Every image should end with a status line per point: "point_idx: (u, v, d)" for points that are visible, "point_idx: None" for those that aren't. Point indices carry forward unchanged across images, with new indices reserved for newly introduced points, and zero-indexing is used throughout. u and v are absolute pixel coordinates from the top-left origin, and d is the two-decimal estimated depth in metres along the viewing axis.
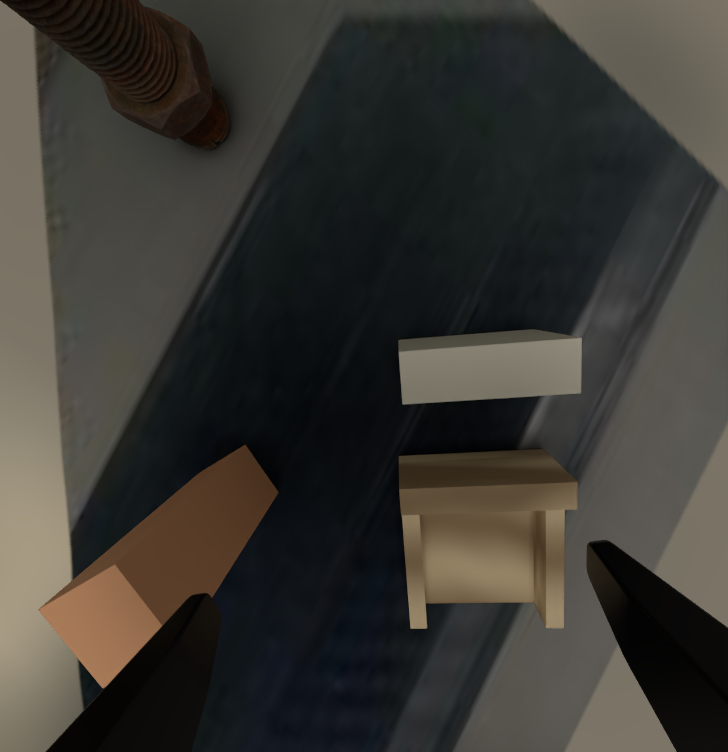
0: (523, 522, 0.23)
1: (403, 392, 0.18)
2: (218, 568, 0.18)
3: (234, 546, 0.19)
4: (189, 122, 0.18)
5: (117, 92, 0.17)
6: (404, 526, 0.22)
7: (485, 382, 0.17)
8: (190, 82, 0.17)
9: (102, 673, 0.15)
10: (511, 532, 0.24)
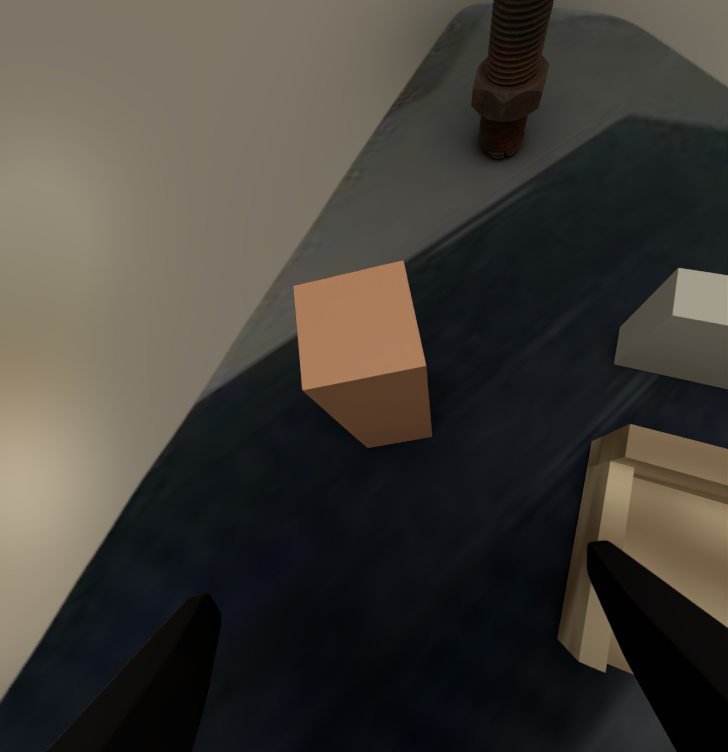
0: None
1: (675, 304, 0.17)
2: None
3: None
4: (517, 112, 0.25)
5: (484, 79, 0.24)
6: (607, 495, 0.17)
7: None
8: (540, 83, 0.23)
9: (313, 372, 0.12)
10: None
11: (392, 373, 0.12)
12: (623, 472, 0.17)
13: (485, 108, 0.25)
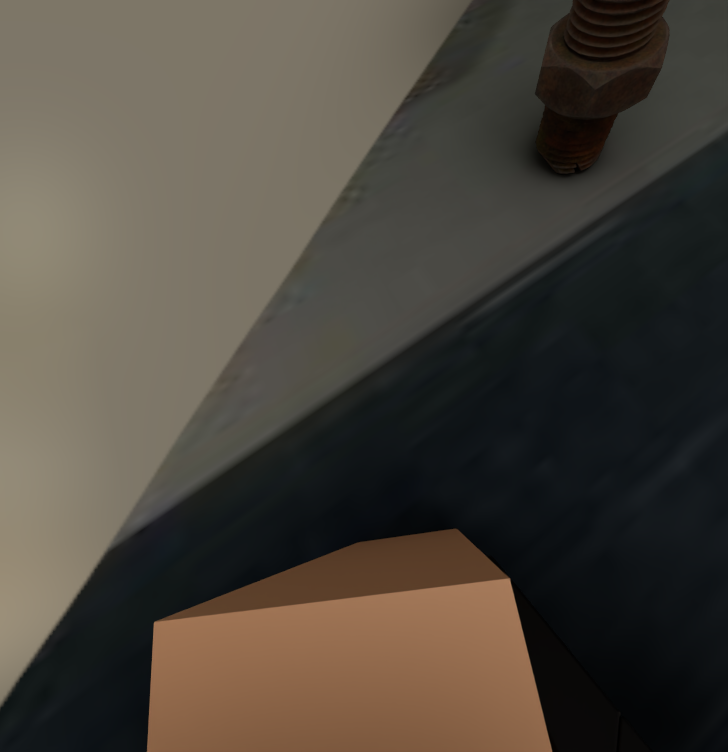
0: None
1: None
2: None
3: None
4: (614, 104, 0.15)
5: (562, 50, 0.15)
6: None
7: None
8: (658, 55, 0.14)
9: None
10: None
11: None
12: None
13: (560, 97, 0.16)
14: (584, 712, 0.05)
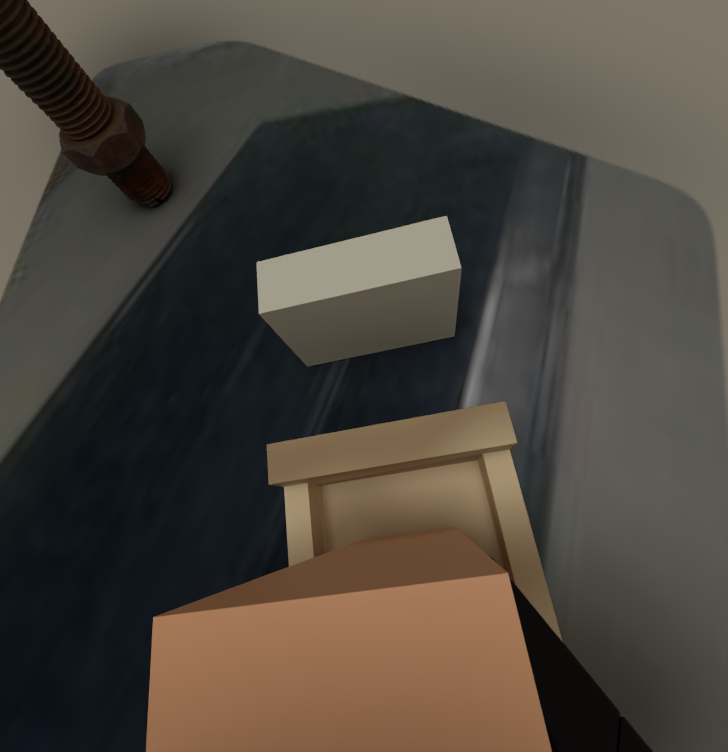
0: (479, 532, 0.15)
1: (260, 301, 0.15)
2: None
3: None
4: (120, 159, 0.23)
5: (67, 139, 0.22)
6: (289, 528, 0.15)
7: (349, 275, 0.15)
8: (119, 125, 0.22)
9: None
10: None
11: None
12: (298, 493, 0.15)
13: (88, 166, 0.23)
14: (584, 712, 0.05)
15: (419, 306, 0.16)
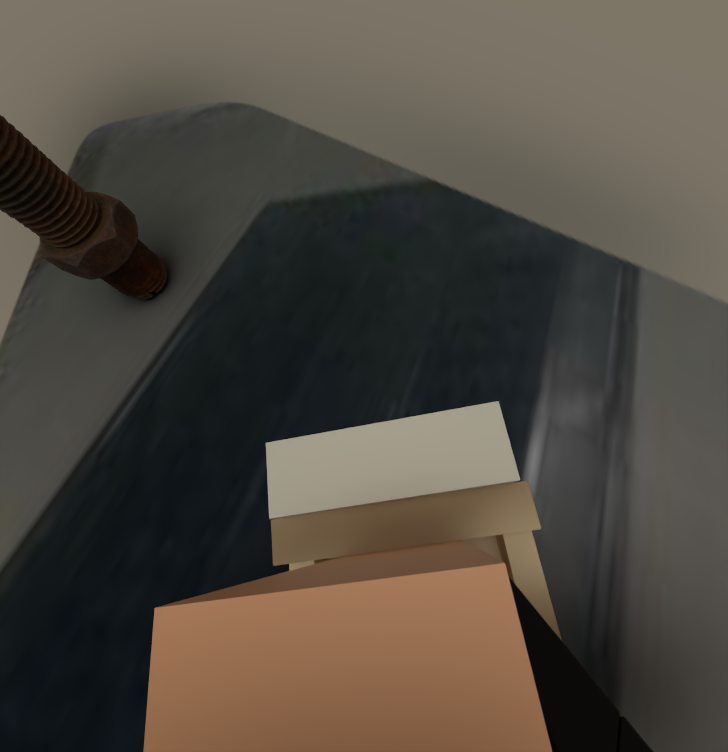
0: None
1: (271, 500, 0.13)
2: None
3: None
4: (109, 264, 0.20)
5: (48, 244, 0.20)
6: None
7: (380, 474, 0.12)
8: (107, 230, 0.19)
9: None
10: None
11: None
12: None
13: (72, 271, 0.20)
14: (584, 712, 0.05)
15: None
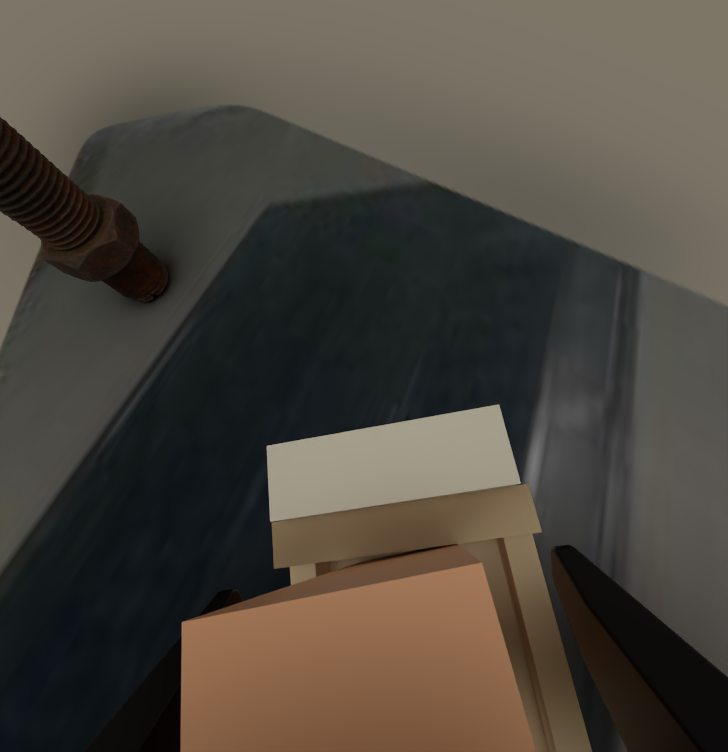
0: (498, 613, 0.14)
1: (272, 503, 0.13)
2: None
3: None
4: (110, 266, 0.20)
5: (49, 247, 0.20)
6: None
7: (380, 478, 0.12)
8: (109, 233, 0.19)
9: None
10: None
11: None
12: (305, 571, 0.14)
13: (74, 273, 0.20)
14: (718, 702, 0.05)
15: None
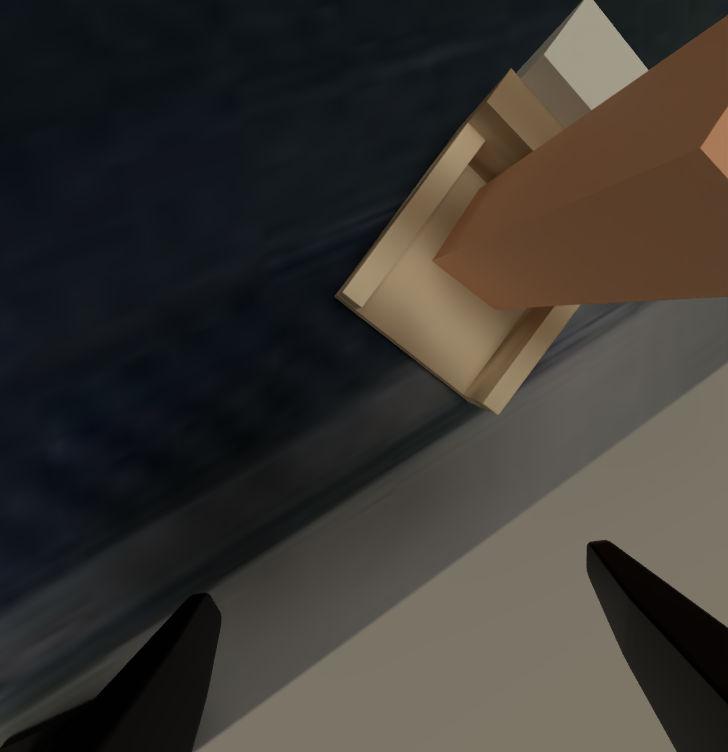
0: None
1: (555, 43, 0.13)
2: None
3: None
4: None
5: None
6: (446, 156, 0.15)
7: None
8: None
9: None
10: None
11: None
12: (473, 140, 0.15)
13: None
14: None
15: None
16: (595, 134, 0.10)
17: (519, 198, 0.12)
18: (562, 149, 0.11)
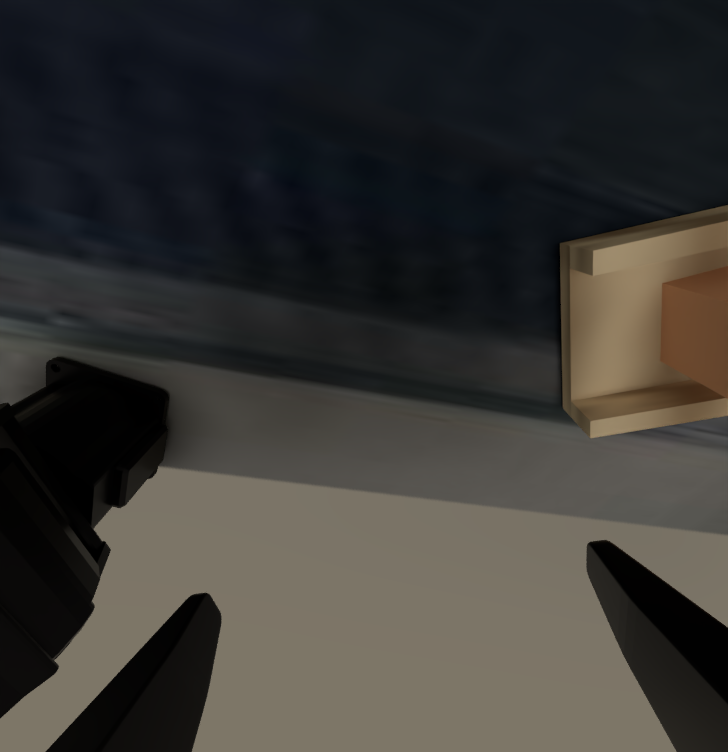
0: None
1: None
2: None
3: None
4: None
5: None
6: None
7: None
8: None
9: None
10: None
11: None
12: None
13: None
14: None
15: None
16: None
17: None
18: None
